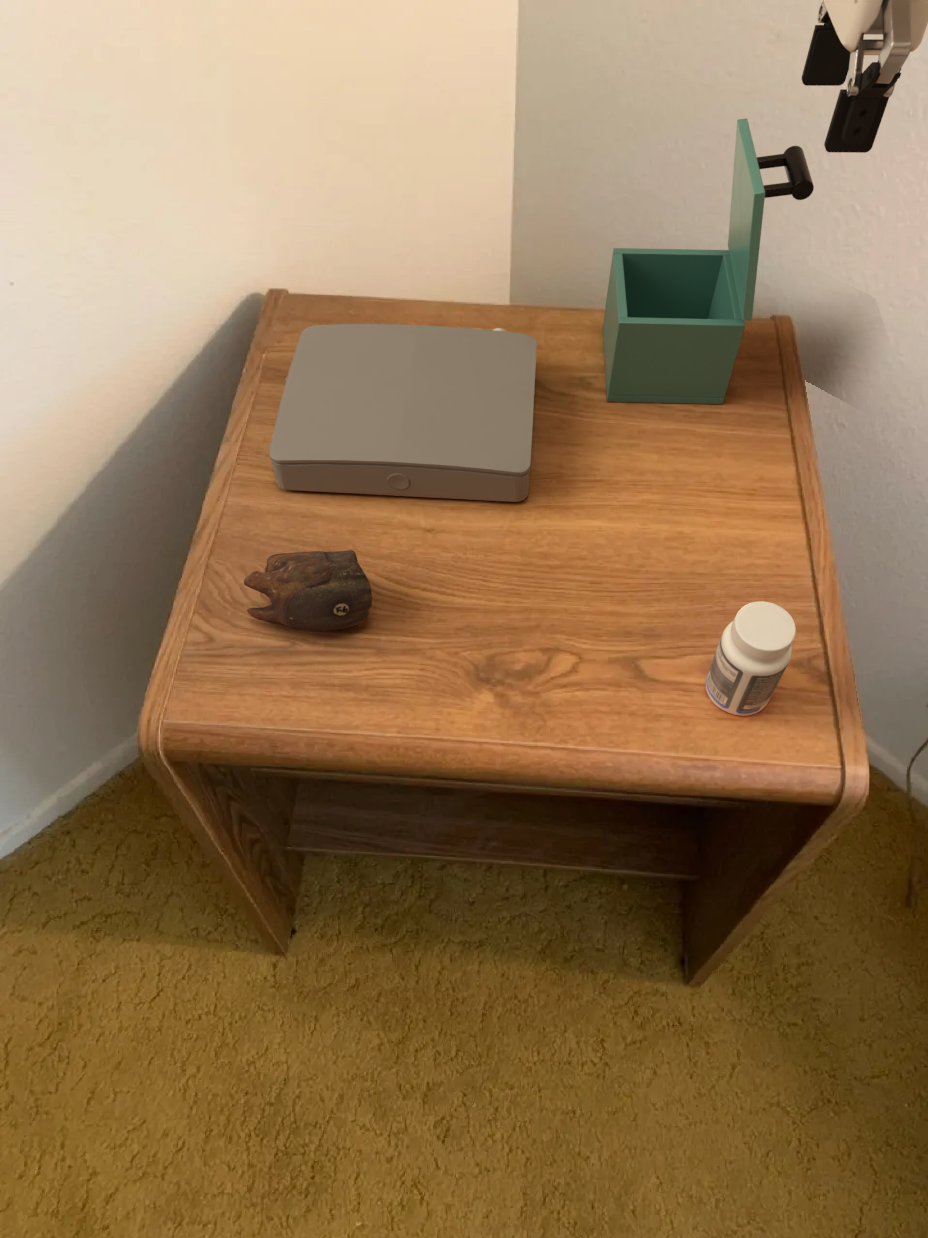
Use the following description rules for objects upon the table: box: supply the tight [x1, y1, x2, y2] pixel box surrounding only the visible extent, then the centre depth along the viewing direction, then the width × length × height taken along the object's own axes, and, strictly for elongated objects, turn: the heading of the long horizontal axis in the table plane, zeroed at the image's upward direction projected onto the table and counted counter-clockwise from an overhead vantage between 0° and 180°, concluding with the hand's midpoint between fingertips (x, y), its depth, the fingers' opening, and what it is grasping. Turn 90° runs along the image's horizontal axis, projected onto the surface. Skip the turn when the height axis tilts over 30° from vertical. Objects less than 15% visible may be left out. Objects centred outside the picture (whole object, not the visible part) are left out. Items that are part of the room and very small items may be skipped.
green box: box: [602, 247, 746, 405], centre depth 84 cm, size 11×11×9 cm
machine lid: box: [727, 118, 815, 322], centre depth 75 cm, size 11×11×5 cm
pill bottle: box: [705, 600, 797, 717], centre depth 64 cm, size 5×5×8 cm
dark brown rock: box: [243, 549, 373, 632], centre depth 71 cm, size 6×7×10 cm
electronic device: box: [268, 323, 538, 503], centre depth 82 cm, size 19×22×5 cm
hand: (833, 115), depth 68 cm, fingers open, 9 cm apart
